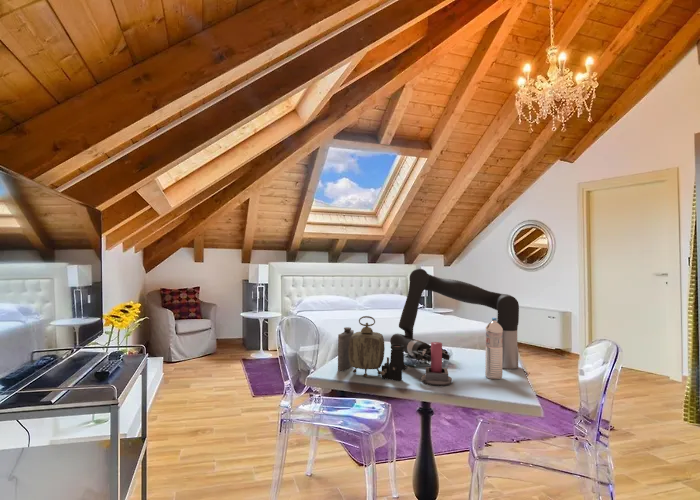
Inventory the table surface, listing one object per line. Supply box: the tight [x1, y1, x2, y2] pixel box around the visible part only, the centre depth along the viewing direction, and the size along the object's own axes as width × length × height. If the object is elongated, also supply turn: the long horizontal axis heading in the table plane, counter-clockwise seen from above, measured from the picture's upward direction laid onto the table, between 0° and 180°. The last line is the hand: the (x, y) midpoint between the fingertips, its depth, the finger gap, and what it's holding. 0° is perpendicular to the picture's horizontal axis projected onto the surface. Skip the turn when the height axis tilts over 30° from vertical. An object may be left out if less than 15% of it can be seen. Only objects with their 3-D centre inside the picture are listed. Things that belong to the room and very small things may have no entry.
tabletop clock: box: [348, 315, 385, 378], centre depth 176 cm, size 14×9×25 cm, turn 80°
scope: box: [380, 344, 407, 382], centre depth 172 cm, size 8×14×10 cm
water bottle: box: [484, 317, 504, 380], centre depth 176 cm, size 7×7×25 cm
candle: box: [430, 341, 443, 373], centre depth 169 cm, size 4×4×14 cm
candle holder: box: [421, 366, 453, 387], centre depth 169 cm, size 12×12×4 cm
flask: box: [337, 326, 355, 373], centre depth 188 cm, size 4×14×18 cm, turn 160°
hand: (439, 358), depth 167 cm, fingers open, 8 cm apart
